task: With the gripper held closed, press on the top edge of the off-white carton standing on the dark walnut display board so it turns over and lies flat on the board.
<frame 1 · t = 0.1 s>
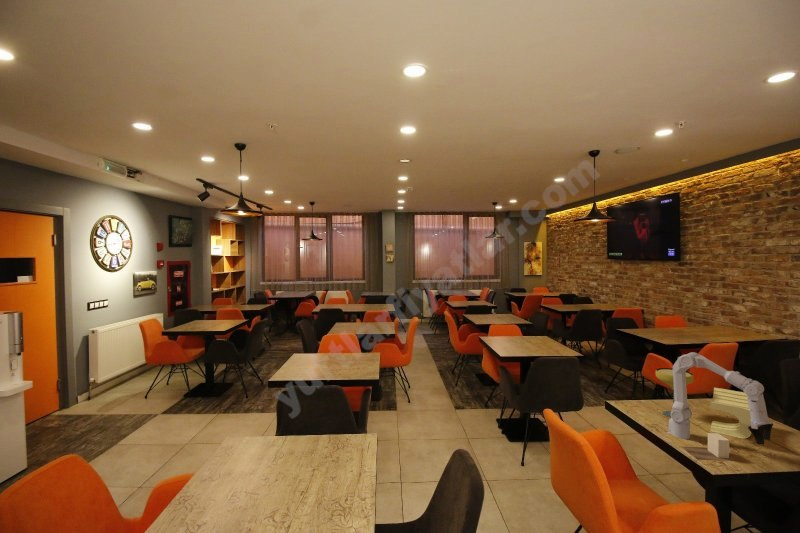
hand: (763, 441, 171), 10 cm above the table, tool pointing down, fingers open, 7 cm apart
display board: (707, 456, 179), on the table
carton: (718, 453, 179), point 1 cm above the table, touching display board
cocktail glass: (673, 415, 227), on the table
slatted curved stool: (731, 431, 205), on the table
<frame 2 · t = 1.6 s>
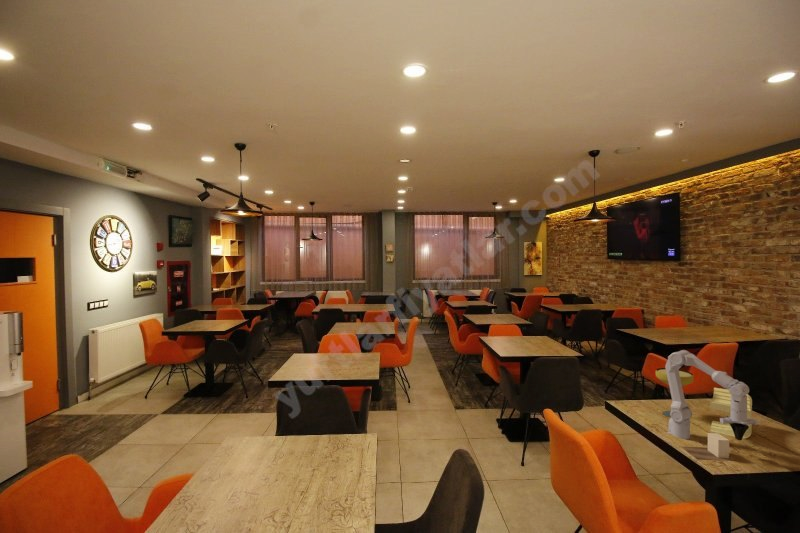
hand: (738, 439, 178), 9 cm above the table, tool pointing down, fingers closed
nothing on the table moved.
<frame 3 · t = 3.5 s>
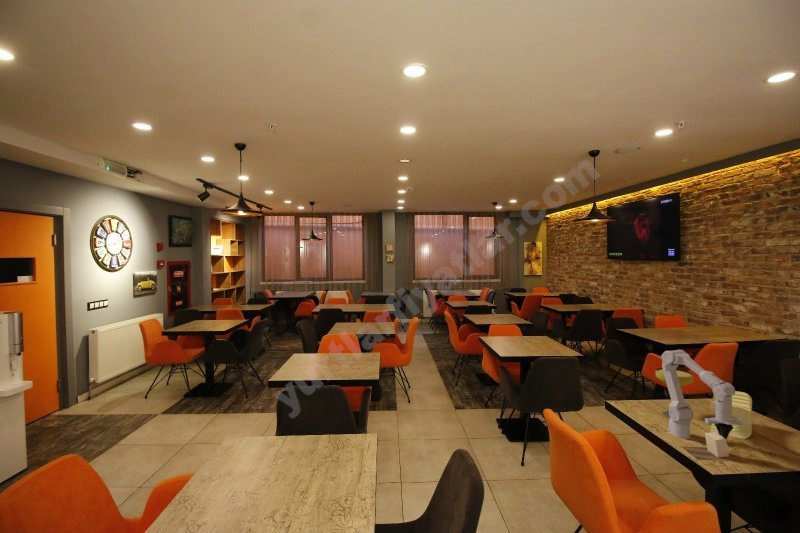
hand: (723, 439, 178), 8 cm above the table, tool pointing down, fingers closed
carton: (718, 453, 179), point 2 cm above the table, tilted 9°, touching display board, gripper
everything else where it was.
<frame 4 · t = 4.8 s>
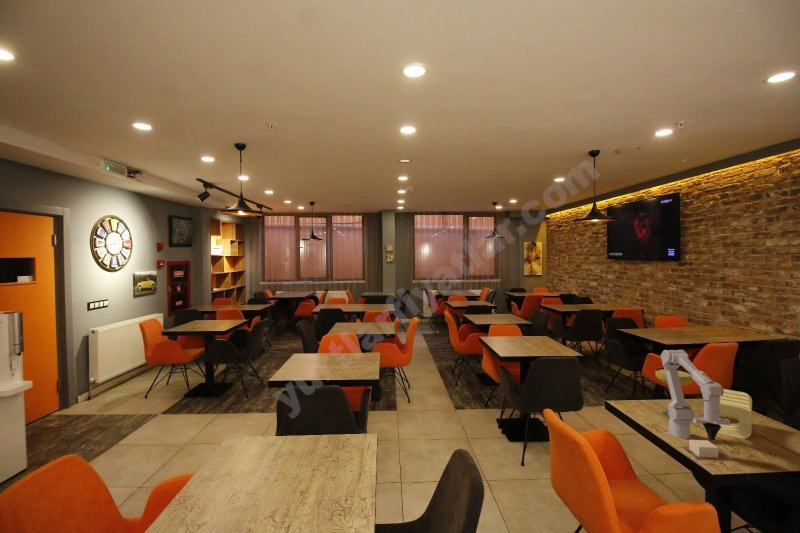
hand: (711, 439, 179), 8 cm above the table, tool pointing down, fingers closed
carton: (712, 448, 179), point 4 cm above the table, tilted 90°, touching display board
everything else where it was.
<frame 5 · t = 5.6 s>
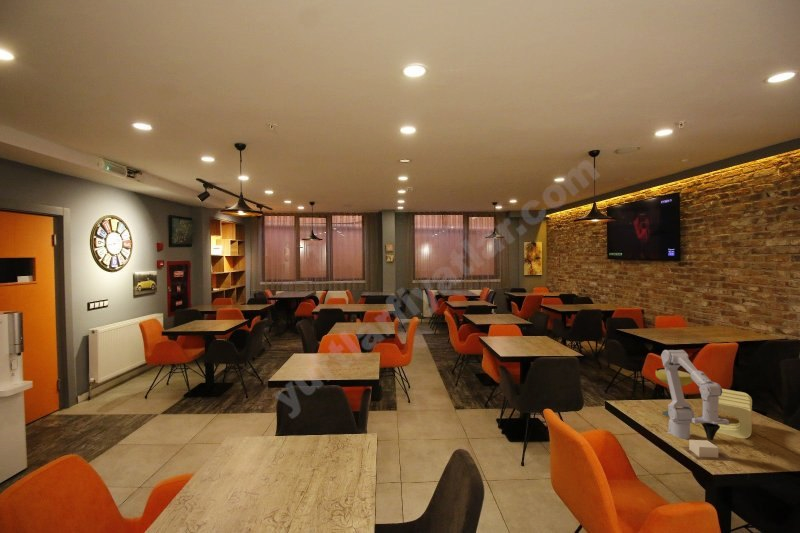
hand: (710, 439, 179), 8 cm above the table, tool pointing down, fingers closed
nothing on the table moved.
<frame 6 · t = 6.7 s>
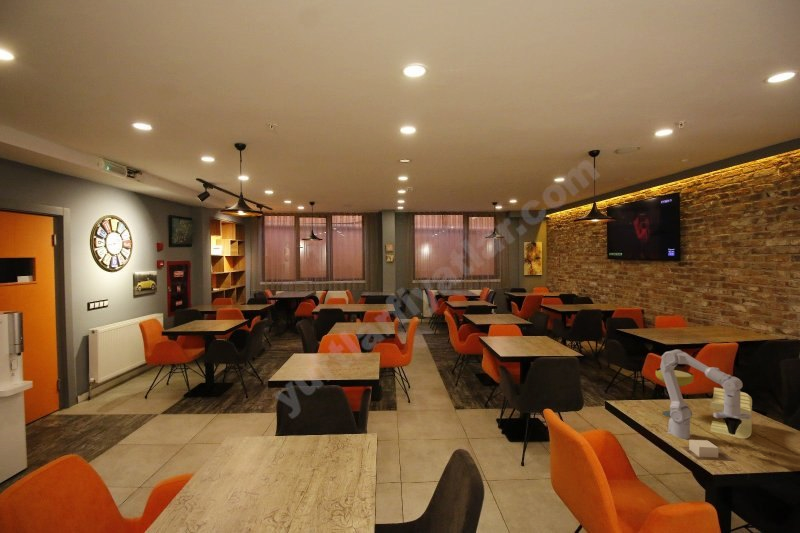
hand: (731, 433, 180), 10 cm above the table, tool pointing down, fingers closed
nothing on the table moved.
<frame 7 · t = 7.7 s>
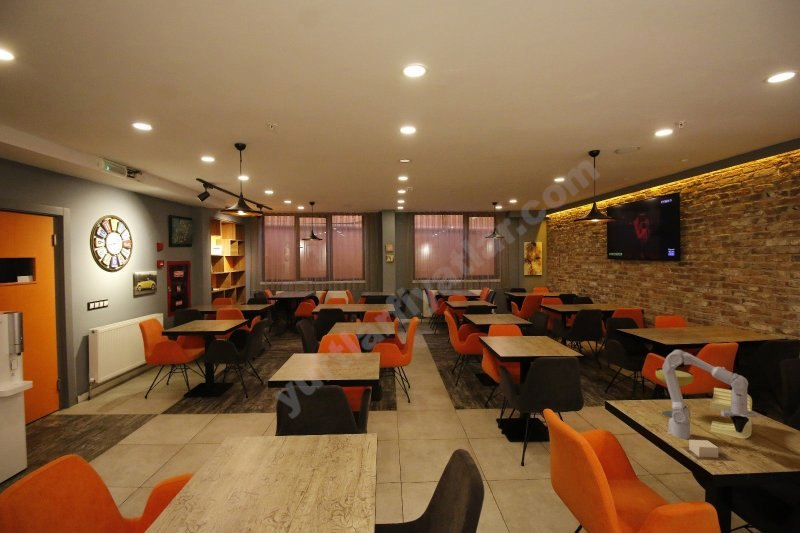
hand: (738, 431, 181), 10 cm above the table, tool pointing down, fingers closed
nothing on the table moved.
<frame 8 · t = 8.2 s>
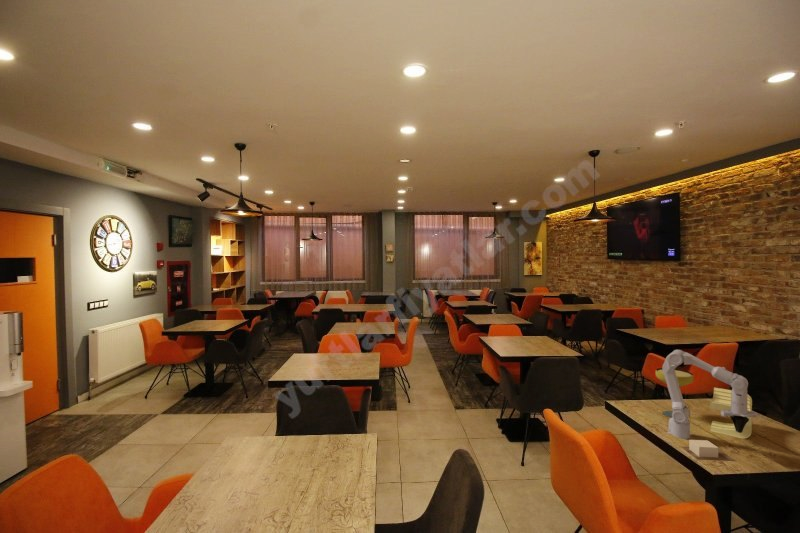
hand: (738, 431, 181), 10 cm above the table, tool pointing down, fingers closed
nothing on the table moved.
at the end: carton tilted 90°; carton touching display board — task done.
